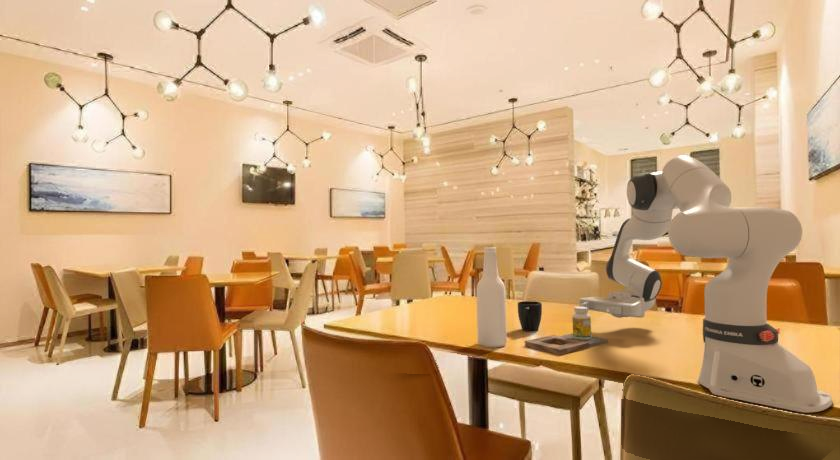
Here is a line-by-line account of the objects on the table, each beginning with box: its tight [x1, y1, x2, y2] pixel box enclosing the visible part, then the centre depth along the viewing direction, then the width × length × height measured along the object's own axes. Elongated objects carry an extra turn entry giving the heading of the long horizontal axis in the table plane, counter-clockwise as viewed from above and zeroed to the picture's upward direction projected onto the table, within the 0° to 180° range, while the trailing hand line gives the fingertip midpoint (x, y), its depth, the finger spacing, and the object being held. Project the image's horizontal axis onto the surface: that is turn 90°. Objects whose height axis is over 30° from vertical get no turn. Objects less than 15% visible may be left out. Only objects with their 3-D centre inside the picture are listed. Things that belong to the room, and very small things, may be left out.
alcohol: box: [476, 246, 508, 349], centre depth 140 cm, size 9×9×30 cm
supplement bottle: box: [571, 306, 592, 340], centre depth 142 cm, size 5×5×10 cm
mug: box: [517, 300, 543, 333], centre depth 157 cm, size 8×12×10 cm
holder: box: [524, 334, 590, 356], centre depth 135 cm, size 13×13×2 cm
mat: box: [560, 332, 609, 348], centre depth 142 cm, size 12×9×1 cm
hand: (595, 308), depth 146 cm, fingers open, 8 cm apart
